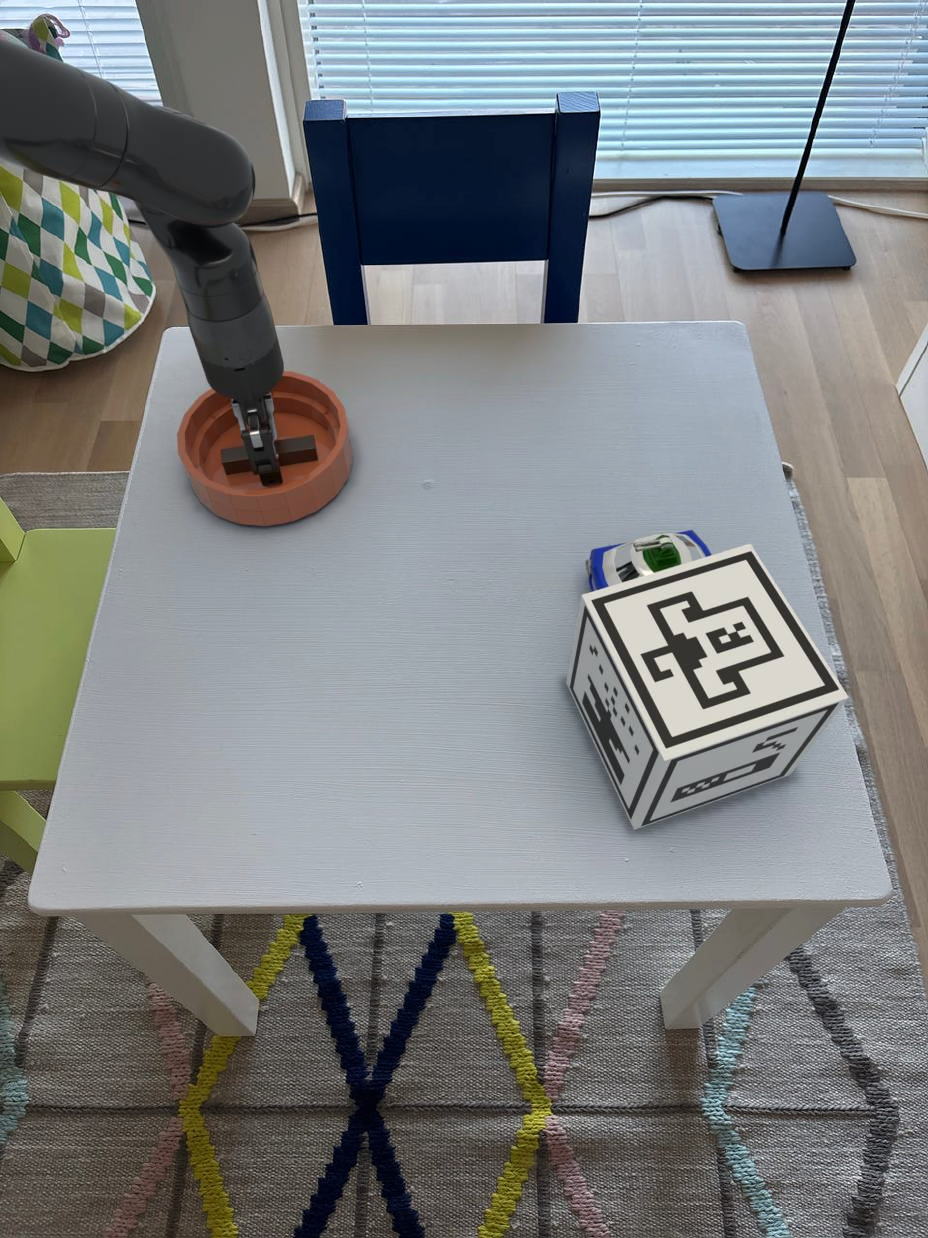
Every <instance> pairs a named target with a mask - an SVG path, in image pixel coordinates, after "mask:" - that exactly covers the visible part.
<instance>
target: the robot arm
mask: <svg viewBox="0 0 928 1238" xmlns="http://www.w3.org/2000/svg"><path fill="white" fill-rule="evenodd" d="M0 161H2V162H4V163H8V164H10V165H13V166H15V167H18V168H21V169H23V170H26V171H28V172H31V173H33V174H34V173H35V174H38V175H40V176H44V177H48V178H51V179H54V180H56V181H61V182H63V183H67V184H71V185H74V186H77V187H81V188H84V189H89V190H93V191H97V192H103V193H107V194H111V195H115V196H119V197H122V198H126V199H128V200H130V201H133V204H134V206H135V207H136V209H137V211H138V212H139V214H140V216H141V217H142V219H143V221H144V223H145V225H146V226H147V228H148V230H149V232H150V233H151V235H152V236H153V239H154V240H155V241H156V243H157V245H158V246H159V248H160V249H161V251H163V253H164V254H165V256H166V258H167V260H168V261H169V263H170V264H171V267H172V270H173V274H174V277H175V280H176V283H177V285H178V286H177V287H178V289H179V292H180V295H181V298H182V301H183V305H184V307H185V313H186V320H187V325H188V328H189V331H190V334H191V337H192V339H193V340H192V341H193V344H194V345H195V349H196V352H197V355H198V359H199V362H200V364H201V366H202V367H201V368H202V369H203V373H204V375H205V378H206V381H207V383H208V385H209V387H210V389H211V388H212V389H213V390H214V391H216V392H217V393H218V394H220V395H222V396H225V397H228V398H231V399H232V406H233V411H234V415H235V416H236V417H237V418H238V421H239V425H240V430H241V439H243V442H244V445H245V448H246V451H247V454H248V457H249V460H250V464H251V469H252V472H253V473H254V475H259V476H260V480H261V483H262V485H263V486H265V487H268V486H274V485H280V484H282V483H283V478H282V473H281V470H280V466H279V463H278V459H279V456H278V454H277V452H276V448H275V443H274V441H275V440H276V439H277V434H278V433H277V428H276V422H275V419H274V414H273V411H274V402H273V397H272V396H273V394H272V388H274V387H275V386H276V385H277V384H278V382H279V381H280V379H281V377H282V375H283V371H285V363H284V359H283V355H282V349H281V346H280V342H279V337H278V333H277V329H276V325H275V321H274V317H273V312H272V308H271V306H270V302H269V300H268V298H267V296H266V293H265V290H264V287H263V286H264V285H263V281H262V279H261V274H260V270H259V266H258V261H257V258H256V254H255V251H254V247H253V244H252V242H251V240H250V238H249V237H248V235H247V234H246V233H245V232H244V230H243V229H242V228H241V227H240V226H238V225H237V224H236V223H235V222H236V221H238V220H239V219H240V218H242V217H243V216H244V214H246V212H247V211H248V209H249V208H250V206H251V205H252V202H253V200H254V196H255V192H256V183H257V182H256V173H255V168H254V164H253V162H252V159H251V158H250V156H249V154H248V152H247V151H246V149H245V148H244V146H243V144H241V143H240V141H239V140H237V139H236V138H235V137H234V136H232V135H231V134H230V133H228V132H226V131H224V130H222V129H220V128H217V127H215V126H213V125H211V124H208V123H206V122H204V121H202V120H199V119H197V118H195V117H192V116H190V115H188V114H186V113H184V112H182V111H179V110H177V109H175V108H172V107H168V106H164V105H158V104H157V105H155V104H154V105H153V104H150V103H149V102H146V101H144V100H142V99H140V98H139V97H137V96H135V95H133V94H132V93H130V92H128V91H127V90H124V89H123V88H121V87H120V86H118V85H116V84H114V83H113V82H110V81H108V80H106V79H104V78H102V77H99V76H97V75H95V74H93V73H90V72H88V71H85V70H83V69H81V68H78V67H76V66H74V65H72V64H69V63H66V62H64V61H63V60H59V59H57V58H55V57H52V56H50V55H47V54H44V53H42V52H39V51H37V50H34V49H32V48H29V47H26V46H24V45H21V44H19V43H17V42H14V41H11V40H8V39H6V38H4V37H1V36H0ZM246 424H247V425H248V426H249V429H247V427H246Z"/></svg>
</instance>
